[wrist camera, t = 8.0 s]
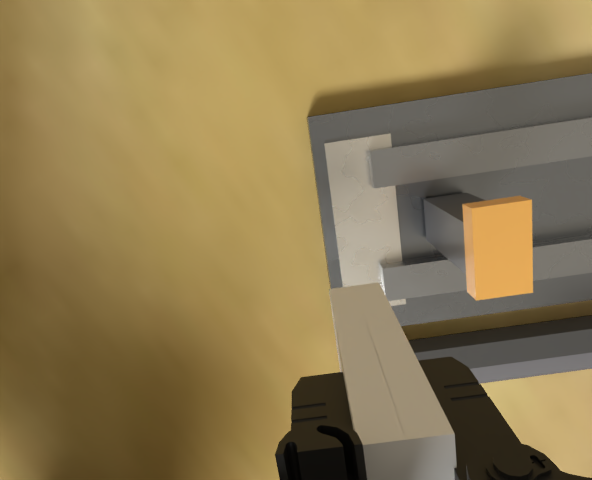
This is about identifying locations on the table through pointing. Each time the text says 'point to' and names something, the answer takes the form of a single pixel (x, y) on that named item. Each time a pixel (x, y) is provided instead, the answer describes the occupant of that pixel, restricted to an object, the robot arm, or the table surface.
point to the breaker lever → (484, 241)
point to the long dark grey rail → (516, 349)
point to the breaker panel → (457, 191)
